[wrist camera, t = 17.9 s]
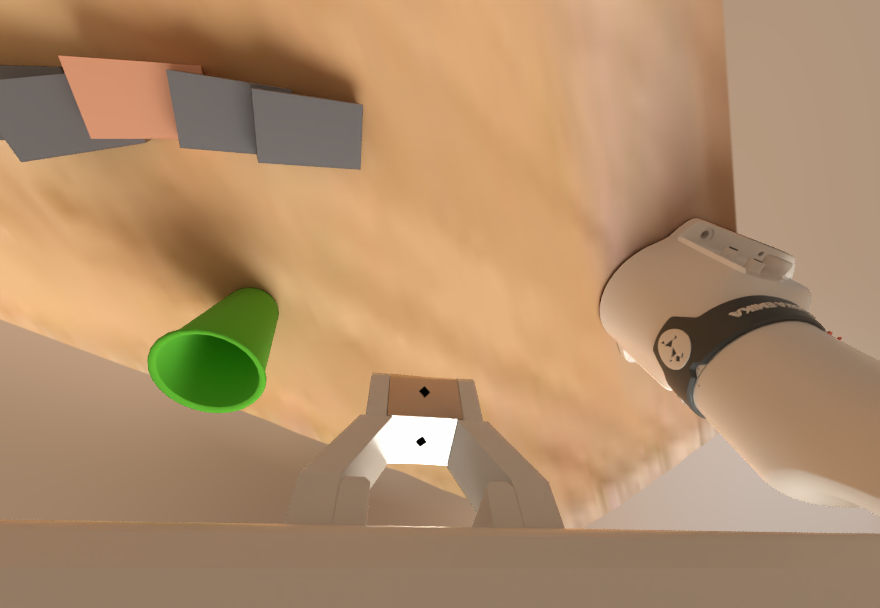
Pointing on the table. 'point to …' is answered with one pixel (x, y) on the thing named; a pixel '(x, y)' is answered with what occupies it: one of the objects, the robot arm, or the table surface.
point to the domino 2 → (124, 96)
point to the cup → (218, 354)
